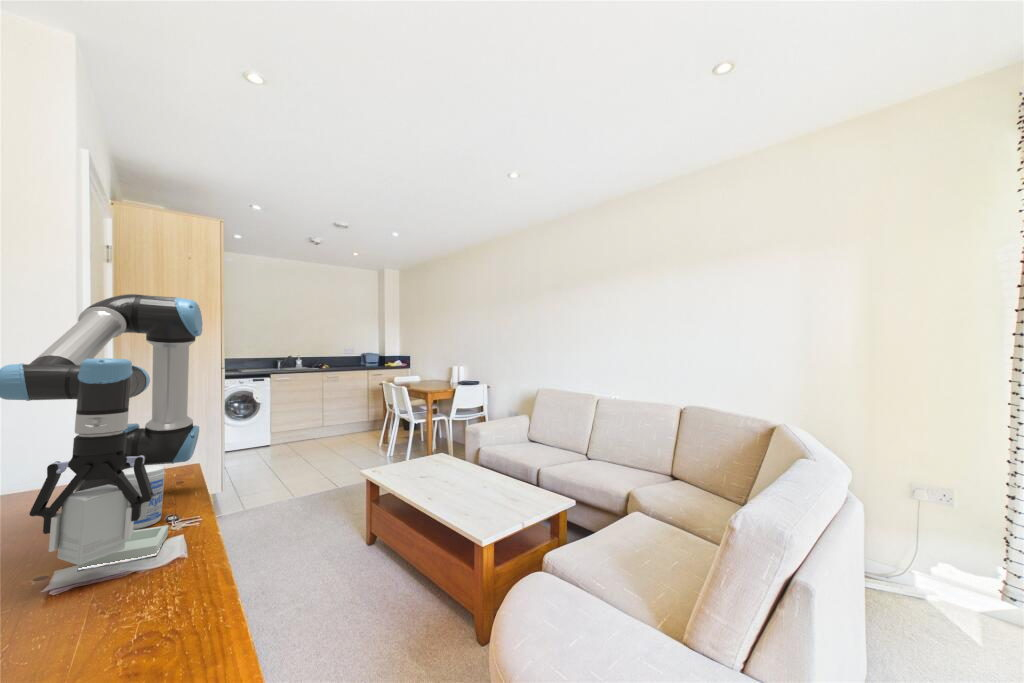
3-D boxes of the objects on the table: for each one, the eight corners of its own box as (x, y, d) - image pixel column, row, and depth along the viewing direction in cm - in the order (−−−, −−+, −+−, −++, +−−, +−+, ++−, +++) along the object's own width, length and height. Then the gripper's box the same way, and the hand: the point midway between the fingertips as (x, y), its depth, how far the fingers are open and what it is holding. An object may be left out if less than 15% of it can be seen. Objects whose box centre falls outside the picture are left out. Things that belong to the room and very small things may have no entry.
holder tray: (99, 546, 91) (100, 535, 92) (168, 535, 98) (168, 525, 98) (77, 571, 81) (78, 558, 81) (156, 556, 88) (157, 545, 88)
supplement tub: (156, 527, 102) (161, 471, 103) (106, 535, 97) (111, 476, 98) (164, 514, 110) (168, 462, 111) (118, 521, 105) (122, 466, 106)
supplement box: (126, 549, 81) (130, 488, 81) (76, 566, 74) (82, 500, 74) (105, 542, 83) (109, 483, 84) (55, 558, 76) (61, 494, 77)
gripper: (7, 441, 70) (-4, 565, 69) (169, 432, 82) (161, 538, 82) (28, 433, 77) (18, 547, 76) (176, 426, 89) (169, 524, 88)
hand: (92, 542), depth 79 cm, fingers closed on supplement box, 10 cm apart
